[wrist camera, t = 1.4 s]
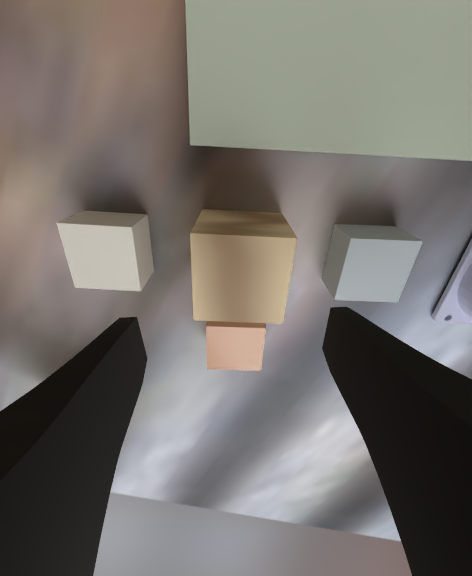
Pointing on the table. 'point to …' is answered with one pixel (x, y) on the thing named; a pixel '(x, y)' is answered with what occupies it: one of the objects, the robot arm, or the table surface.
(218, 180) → the table surface
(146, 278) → the light grey block
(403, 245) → the grey-blue block
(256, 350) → the terracotta block
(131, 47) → the table surface
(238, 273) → the maple block
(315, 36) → the sage board
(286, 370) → the table surface
